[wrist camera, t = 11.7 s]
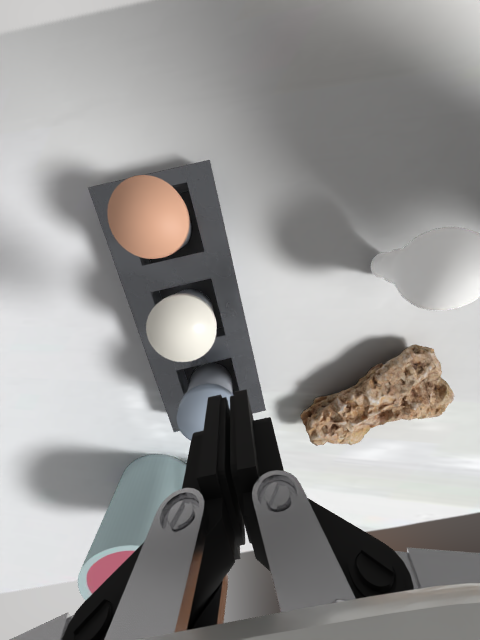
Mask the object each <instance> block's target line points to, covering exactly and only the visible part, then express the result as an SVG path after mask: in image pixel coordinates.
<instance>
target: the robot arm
mask: <svg viewBox="0 0 480 640" xmlns="http://www.w3.org/2000/svg"><path fill="white" fill-rule="evenodd" d="M244 524H245V527H244ZM245 528H246V531H247V535H248V539H249V542H250V543H252V546H253V549H254V553H255V557H256V559H257V560H258V561H260V562H261V563H262V564H263V565H264V566H265V567H266V568H267V569H268V570H269V571H270V572H271V576H272V580H273V584H274V588H275V592H276V596H277V600H278V603H279V608H280V612H281V613H277V614H271V615H265V616H260V617H255V618H249V619H244V620H239V621H234V622H228V623H224V615H225V605H226V598H227V589H228V575H227V573H228V572H229V570H230V569H231V567H232V566H233V564H234V563H235V560H236V559H240V545H245ZM10 640H480V553H468V552H455V551H444V550H430V549H418V548H407V552H397V551H394V550H393V549H391V548H390V547H389V546H387V545H386V544H384V543H383V542H381V541H379V540H378V539H376V538H374V537H373V536H371V535H369V534H368V533H366V532H364V531H363V530H361V529H359V528H357V527H356V526H354V525H352V524H351V523H349V522H347V521H346V520H344V519H342V518H340V517H339V516H337V515H335V514H334V513H332V512H330V511H329V510H327V509H325V508H323V507H322V506H320V505H318V504H317V503H315V502H313V501H312V500H310V499H308V498H307V497H306V495H305V492H304V490H303V488H302V486H301V484H300V483H299V481H298V480H297V478H296V477H294V476H293V475H292V474H291V473H288V472H285V471H284V470H283V466H282V462H281V458H280V454H279V450H278V446H277V441H276V437H275V433H274V429H273V425H272V421H271V417H269V418H264V419H259V420H253V415H252V411H251V406H250V402H249V397H248V393H247V389H246V390H241V391H236V392H234V396H230V408H229V404H228V400H227V397H224V398H222V396H221V395H216V396H211V397H208V401H207V408H206V415H205V422H204V429H203V431H199V432H194V433H193V435H192V440H191V445H190V450H189V455H188V460H187V465H186V470H185V475H184V480H183V485H182V489H180V490H178V491H175V492H173V493H172V494H171V495H169V496H168V497H167V498H166V499H165V500H164V501H163V502H162V504H161V505H160V507H159V509H158V510H157V512H156V515H155V517H154V520H153V522H152V524H151V527H150V529H149V532H148V534H147V537H146V539H145V541H144V542H143V543H142V544H141V545H140V547H139V548H138V549H137V550H136V551H135V552H134V553H133V554H132V555H131V556H130V557H129V558H128V559H127V560H126V561H125V562H124V563H123V564H122V565H121V566H120V567H119V568H118V569H117V570H116V571H115V572H114V573H113V574H112V575H111V576H110V577H109V578H108V579H107V580H106V581H105V582H104V583H103V584H102V585H101V586H100V587H99V588H98V589H97V590H96V591H95V592H94V593H93V594H92V595H91V596H90V597H89V598H88V599H87V600H86V601H85V602H84V603H83V604H82V606H81V607H80V608H79V609H78V610H77V611H76V613H75V615H73V616H70V615H69V613H65V614H64V615H61V616H59V617H57V618H55V619H53V620H51V621H49V622H46V623H44V624H42V625H40V626H38V627H36V628H34V629H31V630H29V631H27V632H25V633H23V634H21V635H19V636H17V637H14V638H12V639H10Z"/></svg>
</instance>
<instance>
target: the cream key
mask: <svg viewBox="0 0 480 640" xmlns="http://www.w3.org/2000/svg"><path fill="white" fill-rule="evenodd" d="M216 329H217V323H216V317H215V314H214V312H213V305H212V302H211V300H210V299H209V298H208V296H207V295H205V294H204V293H203V292H201V291H199V290H195V289H185V290H182V291H179V292H178V293H176V294H173V295H170V296H168V297H166V298H164V299H163V300H161V301H160V302H159V303H158V304H157V305H155V307H154V308H153V309H152V310H151V312H150V314H149V316H148V319H147V323H146V333H147V337H148V340H149V342H150V344H151V346H152V347H153V348H154V349H155V351H156V352H157V353H159V354H160V355H161V356H163V357H165V358H167V359H169V360H172V361H177V362H188V361H193V360H196V359H198V358H200V357H202V356H203V355H204V354H206V353H207V352H208V351H209V350H210V348H211V347H212V345H213V343H214V341H215V337H216Z"/></svg>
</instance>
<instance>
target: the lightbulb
mask: <svg viewBox="0 0 480 640" xmlns="http://www.w3.org/2000/svg"><path fill="white" fill-rule="evenodd" d="M371 271H372V273H373V274H374V275H375V276H377V277H380V278H384V279H385V280H386V281H388V282H390V283H393V284H395V287H396V288H397V290H398V291H399V293H400V294H401V296H402V297H403V298H404V299H406V300H407V301H408V302H410V303H411V304H413V305H415V306H417V307H420V308H423V309H427V310H440V311H444V310H451V309H456V308H459V307H462V306H465V305H467V304H469V303H471V302H473V301H475V300H476V299H477V298H479V297H480V234H479V233H477V232H474V231H472V230H469V229H465V228H459V227H444V228H438V229H434V230H431V231H429V232H426V233H423V234H421V235H419V236H418V237H416V238H414V239H413V240H412V241H411V242H409V243H408V244H407V245H406V246H405V247H404V248H402V249H395V250H392V251H390V252H383V253H379V254H378V255H376V256H375V257H374V258H373V260H372V262H371Z"/></svg>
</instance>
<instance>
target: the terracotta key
mask: <svg viewBox="0 0 480 640" xmlns="http://www.w3.org/2000/svg"><path fill="white" fill-rule="evenodd" d="M107 216H108V223H109V226H110V229H111V231H112V234H113V235H114V237H115V239H116V240H117V241H118V243H119V244H120V245H121V246H122V247H123V248H124V249H126V250H127V251H128V252H130V253H132V254H134V255H136V256H138V257H142V258H147V259H156V258H163V257H167V256H169V255H171V254H173V253H175V252H176V251H178V250H180V249H181V248H183V247H184V246H185V245H186V244H187V243H188V241H189V239H190V237H191V233H192V224H191V220H190V217H189V213H188V209H187V207H186V205H185V202H184V201H183V199H182V198H181V196H180V195H179V194H178V192H177V191H176V190H175V189H174V188H173V187H172V186H171V185H170V184H168V183H167V182H165V181H164V180H162V179H160V178H157V177H154V176H149V175H138V176H133V177H130V178H128V179H126V180H124V181H123V182H121V183H120V184H119V185H118V186H117V187H116V189H115V190H114V191H113V193H112V195H111V197H110V200H109V203H108V210H107Z"/></svg>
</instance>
